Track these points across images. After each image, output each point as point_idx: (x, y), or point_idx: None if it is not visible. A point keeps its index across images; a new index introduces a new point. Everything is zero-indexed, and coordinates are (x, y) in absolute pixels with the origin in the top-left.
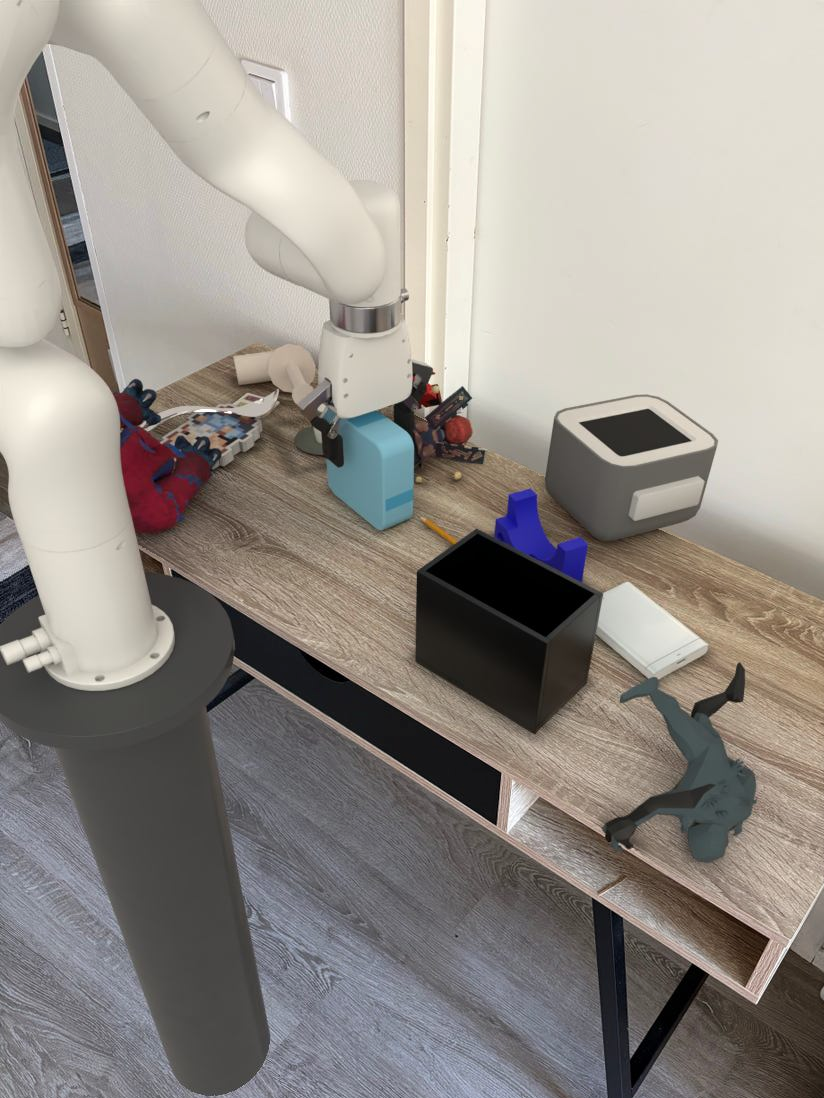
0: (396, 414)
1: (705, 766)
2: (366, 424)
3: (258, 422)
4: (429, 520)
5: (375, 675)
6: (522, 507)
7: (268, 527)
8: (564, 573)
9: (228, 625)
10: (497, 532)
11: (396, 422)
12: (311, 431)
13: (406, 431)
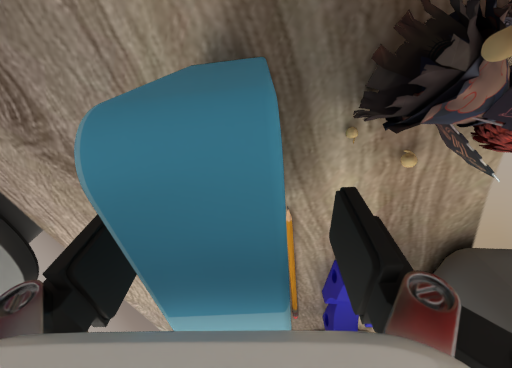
0: (357, 248)
1: None
2: (202, 315)
3: None
4: (291, 223)
5: (150, 317)
6: None
7: (69, 119)
8: None
9: (17, 270)
10: (337, 274)
11: (346, 226)
12: None
13: (338, 258)
